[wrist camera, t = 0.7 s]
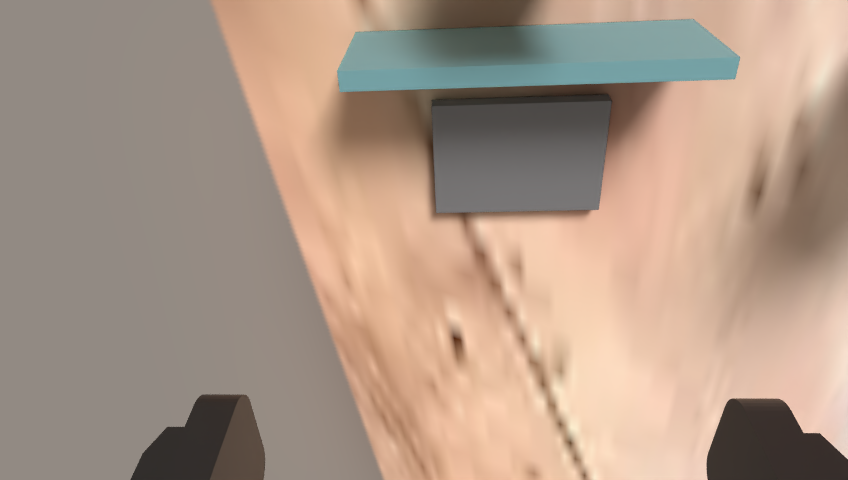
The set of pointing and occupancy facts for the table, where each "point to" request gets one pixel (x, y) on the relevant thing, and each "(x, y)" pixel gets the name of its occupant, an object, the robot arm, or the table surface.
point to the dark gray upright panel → (519, 153)
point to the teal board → (535, 56)
